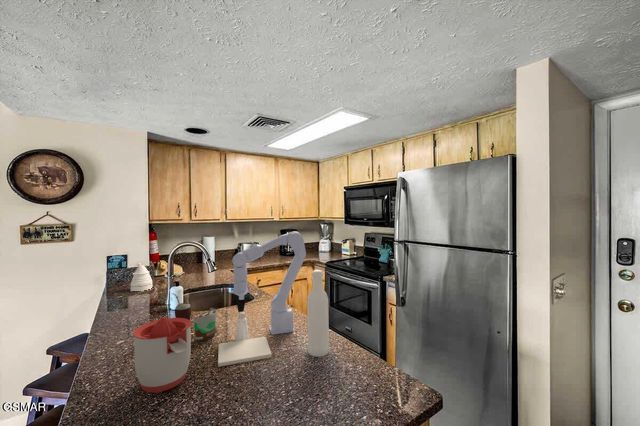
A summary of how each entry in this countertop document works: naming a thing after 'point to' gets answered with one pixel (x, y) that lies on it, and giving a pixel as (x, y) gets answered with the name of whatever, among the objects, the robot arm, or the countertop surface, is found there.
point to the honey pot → (141, 279)
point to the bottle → (318, 318)
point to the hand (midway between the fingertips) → (240, 311)
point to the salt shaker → (242, 327)
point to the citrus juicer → (162, 353)
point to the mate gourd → (182, 310)
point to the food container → (205, 325)
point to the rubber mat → (243, 351)
